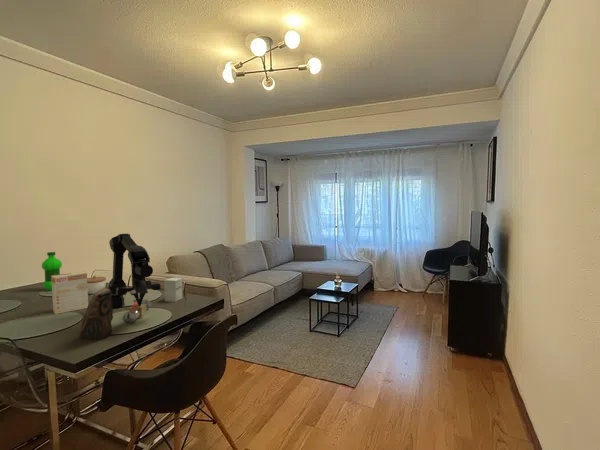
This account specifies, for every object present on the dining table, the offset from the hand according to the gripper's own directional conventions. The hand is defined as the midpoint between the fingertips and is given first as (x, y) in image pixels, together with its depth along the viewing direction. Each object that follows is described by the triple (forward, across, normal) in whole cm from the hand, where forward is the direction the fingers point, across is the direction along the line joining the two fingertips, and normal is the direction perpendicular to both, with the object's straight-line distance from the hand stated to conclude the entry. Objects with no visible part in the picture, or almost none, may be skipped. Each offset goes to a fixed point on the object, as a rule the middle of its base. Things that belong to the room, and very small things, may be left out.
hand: (139, 305), depth 156 cm
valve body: (+7, 0, +8) cm, 11 cm away
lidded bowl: (+8, -14, +72) cm, 74 cm away
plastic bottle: (+7, -36, +98) cm, 105 cm away
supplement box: (+8, +23, +27) cm, 36 cm away
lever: (+1, -1, +4) cm, 4 cm away
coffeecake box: (+8, -27, +40) cm, 49 cm away
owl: (+8, -18, -8) cm, 21 cm away
